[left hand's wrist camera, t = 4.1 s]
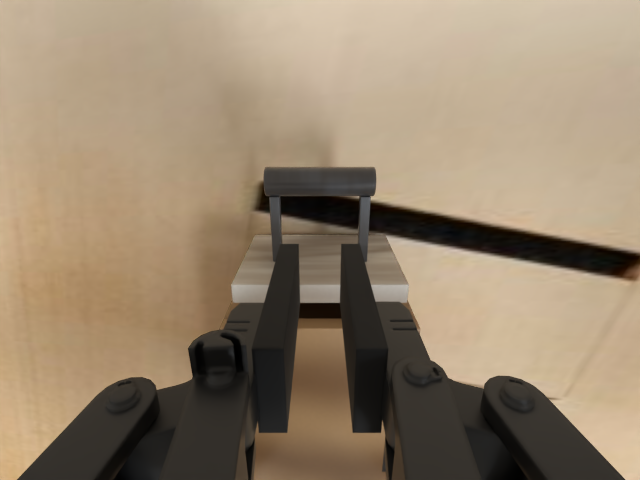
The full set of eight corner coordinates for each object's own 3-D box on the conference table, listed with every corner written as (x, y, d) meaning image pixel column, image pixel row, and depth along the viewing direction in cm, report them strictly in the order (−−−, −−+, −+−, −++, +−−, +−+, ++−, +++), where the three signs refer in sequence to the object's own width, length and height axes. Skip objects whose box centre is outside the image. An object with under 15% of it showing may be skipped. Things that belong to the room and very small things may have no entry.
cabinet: (251, 255, 29) (219, 328, 20) (388, 255, 29) (420, 328, 20) (265, 438, 37) (247, 553, 27) (374, 438, 37) (392, 553, 27)
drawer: (249, 155, 25) (219, 178, 18) (390, 155, 25) (420, 178, 18) (268, 421, 34) (254, 509, 27) (371, 421, 34) (385, 509, 27)
